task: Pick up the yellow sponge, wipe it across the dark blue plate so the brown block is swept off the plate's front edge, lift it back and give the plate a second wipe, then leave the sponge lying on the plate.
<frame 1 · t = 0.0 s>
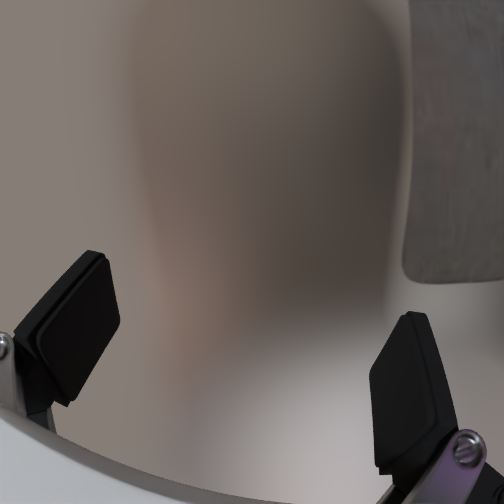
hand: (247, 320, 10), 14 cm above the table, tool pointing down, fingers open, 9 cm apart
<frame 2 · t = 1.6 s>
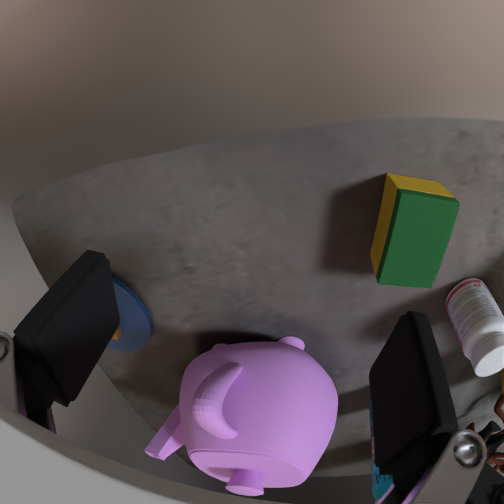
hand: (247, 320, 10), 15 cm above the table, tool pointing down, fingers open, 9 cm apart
teapot: (246, 361, 35), on the table
brown block: (105, 321, 33), point 1 cm above the table, touching plate
sponge: (404, 219, 23), on the table
plate: (107, 308, 33), on the table
pill bottle: (464, 295, 25), on the table
beverage can: (390, 390, 34), on the table
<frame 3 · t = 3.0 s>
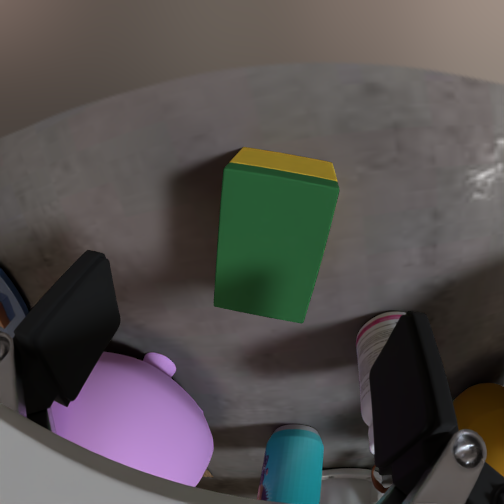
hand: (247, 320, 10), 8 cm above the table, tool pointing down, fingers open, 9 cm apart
teapot: (122, 372, 28), on the table
apple: (474, 389, 22), on the table, touching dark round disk
sponge: (277, 216, 17), on the table
pill bottle: (388, 333, 20), on the table
beverage can: (296, 431, 29), on the table
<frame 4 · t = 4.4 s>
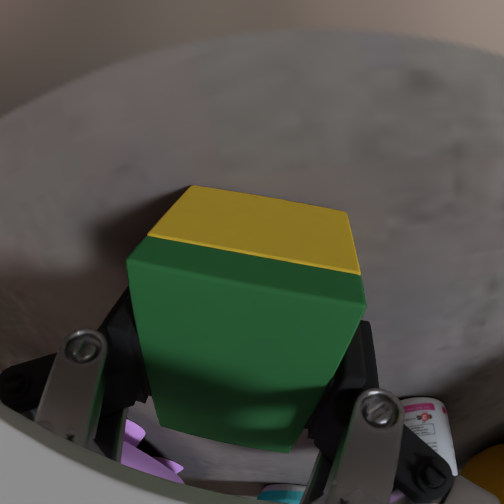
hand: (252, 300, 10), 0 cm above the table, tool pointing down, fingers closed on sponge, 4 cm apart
teapot: (90, 423, 22), on the table
apple: (492, 446, 16), on the table, touching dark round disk
sponge: (253, 293, 11), on the table, touching gripper
pill bottle: (403, 414, 14), on the table
beverage can: (288, 487, 23), on the table
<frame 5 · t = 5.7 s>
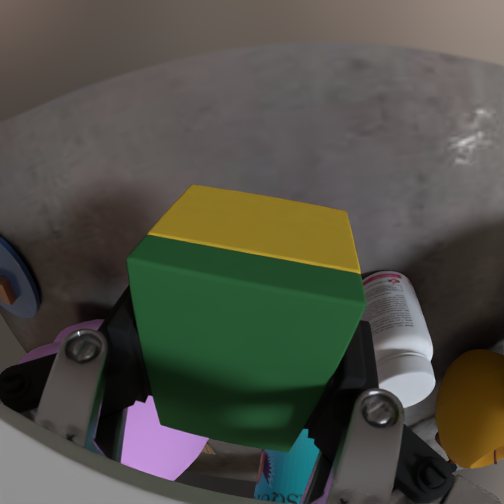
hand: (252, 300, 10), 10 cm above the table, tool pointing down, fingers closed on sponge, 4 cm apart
teapot: (127, 343, 30), on the table
apple: (469, 356, 24), on the table, touching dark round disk
brown block: (2, 285, 28), point 1 cm above the table, touching plate
sponge: (254, 292, 11), point 10 cm above the table, touching gripper
plate: (6, 272, 28), on the table
pill bottle: (381, 293, 22), on the table
beverage can: (296, 400, 31), on the table
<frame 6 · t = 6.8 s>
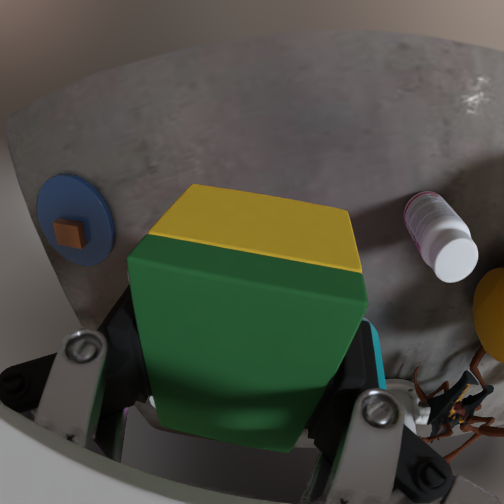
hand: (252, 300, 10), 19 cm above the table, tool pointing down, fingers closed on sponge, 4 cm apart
apple: (492, 279, 29), on the table, touching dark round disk
brown block: (72, 230, 33), point 1 cm above the table, touching plate
sponge: (254, 292, 11), point 19 cm above the table, touching gripper
plate: (76, 218, 34), on the table
pill bottle: (424, 212, 27), on the table
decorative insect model: (498, 415, 30), point 9 cm above the table, touching arm
beverage can: (353, 327, 36), on the table
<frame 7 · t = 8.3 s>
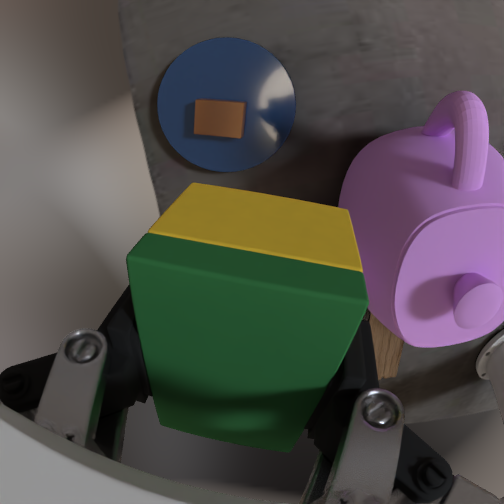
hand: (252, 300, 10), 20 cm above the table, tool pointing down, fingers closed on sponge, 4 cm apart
teapot: (395, 189, 27), on the table
brown block: (221, 116, 25), point 1 cm above the table, touching plate
sponge: (254, 291, 11), point 19 cm above the table, touching gripper
wood plank: (406, 344, 35), point 1 cm above the table
plate: (226, 104, 25), on the table
when the fingers open (2 cm above the table, at t = 20.5 s): sponge stays where it is, resting on plate.
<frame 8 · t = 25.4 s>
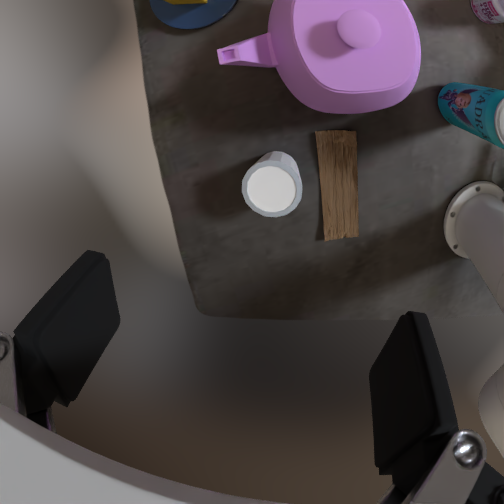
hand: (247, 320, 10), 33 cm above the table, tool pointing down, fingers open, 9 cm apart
shot glass: (277, 171, 41), on the table
teapot: (321, 35, 31), on the table
wood plank: (360, 186, 39), point 1 cm above the table
pill bottle: (483, 8, 22), on the table
beverage can: (451, 102, 31), on the table
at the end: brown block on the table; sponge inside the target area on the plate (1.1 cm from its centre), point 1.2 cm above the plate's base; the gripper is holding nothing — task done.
